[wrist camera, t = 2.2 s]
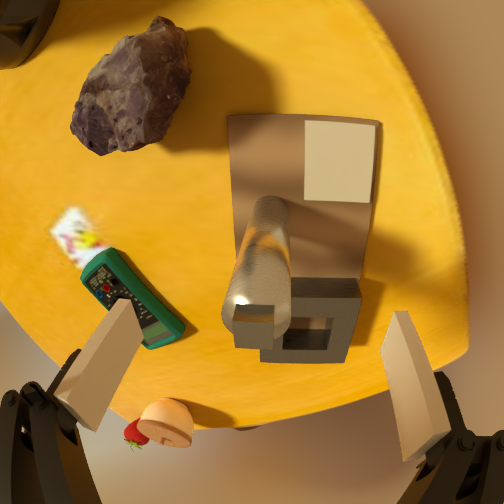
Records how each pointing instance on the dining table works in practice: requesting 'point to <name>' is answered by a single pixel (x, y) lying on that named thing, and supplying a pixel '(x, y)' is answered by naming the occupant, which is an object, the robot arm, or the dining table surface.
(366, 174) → the pad
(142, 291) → the digital multimeter
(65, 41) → the dining table surface
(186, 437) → the lidded jar
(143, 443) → the strawberry
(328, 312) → the block
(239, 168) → the board
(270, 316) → the silver metal post
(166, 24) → the rock
